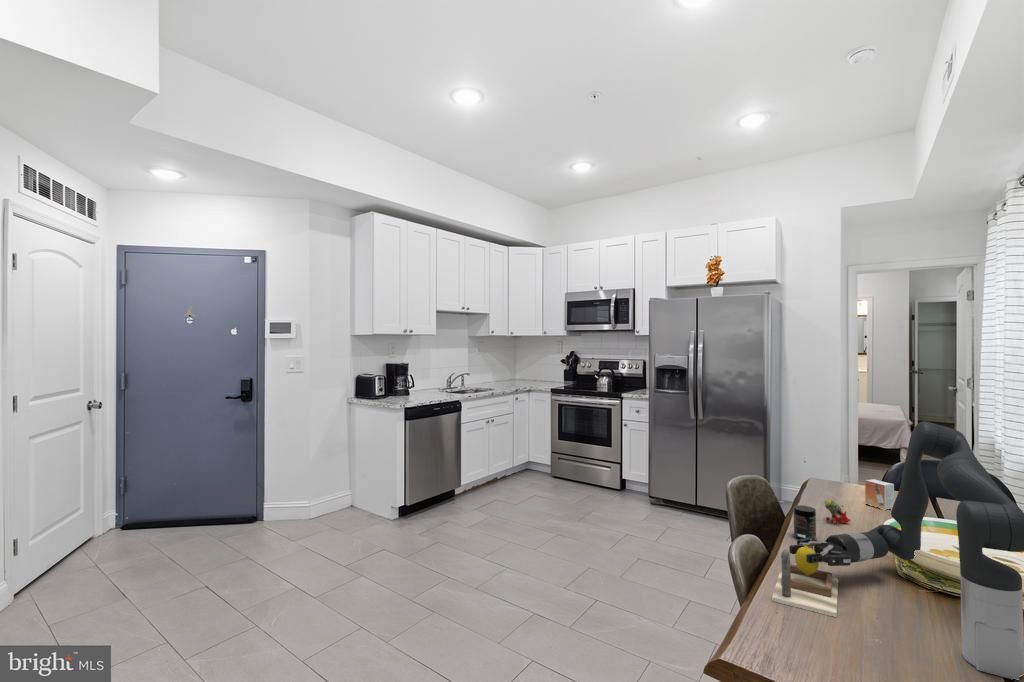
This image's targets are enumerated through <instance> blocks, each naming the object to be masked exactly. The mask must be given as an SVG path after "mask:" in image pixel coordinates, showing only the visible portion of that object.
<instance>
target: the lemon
mask: <svg viewBox="0 0 1024 682" xmlns="http://www.w3.org/2000/svg"><path fill="white" fill-rule="evenodd" d="M814 553H815V551H814V549H813V550H812V549H811V548H809V547H808V546H805V547H801V548H799V549H798V550H797V552H796V554H795V556H794V558H795V560H794V561H795V565H797V567H798V568H799V569H800V570H801V571H802V572H804V573H805V574H806V575H810V574H813V573H815V572H816V571H817V570H819V565H820V562H817V563H808V562H807V561H806V555H807V554H814Z"/></svg>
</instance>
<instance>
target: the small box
mask: <svg viewBox="0 0 1024 682" xmlns="http://www.w3.org/2000/svg"><path fill="white" fill-rule="evenodd" d="M864 484H865V488H864V489H865V491H864V492H865V493H864V494H865V496H864V497H865V500H864V502H865V503H867V504H871V505H874V506H877V507H880V508H883V509H889V508H893V505H894V502H895V484H894V483H890V482H885V481H882V480H879V479H875V478H874V479H865V483H864Z"/></svg>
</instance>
